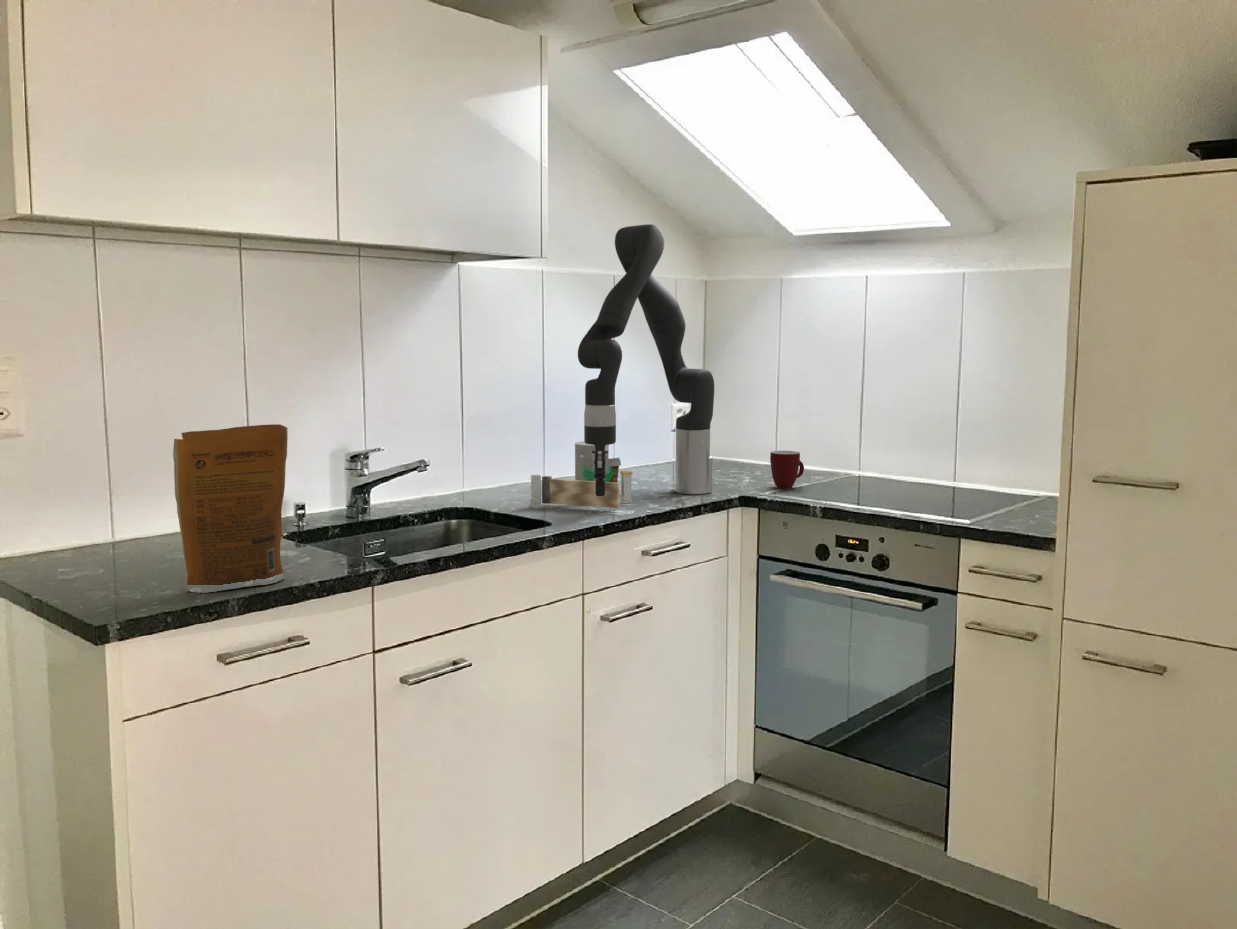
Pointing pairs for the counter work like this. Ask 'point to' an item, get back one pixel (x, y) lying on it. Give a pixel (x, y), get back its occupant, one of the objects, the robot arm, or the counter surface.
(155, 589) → the counter surface
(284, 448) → the pancake mix bag
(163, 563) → the counter surface
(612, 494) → the gate
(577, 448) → the grey cylindrical canister
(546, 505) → the gate frame
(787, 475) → the mug
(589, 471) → the food container
